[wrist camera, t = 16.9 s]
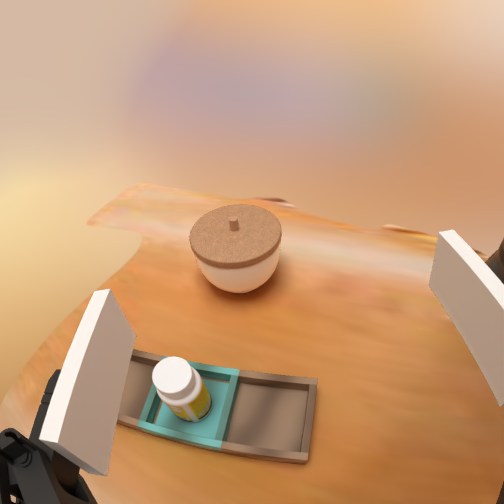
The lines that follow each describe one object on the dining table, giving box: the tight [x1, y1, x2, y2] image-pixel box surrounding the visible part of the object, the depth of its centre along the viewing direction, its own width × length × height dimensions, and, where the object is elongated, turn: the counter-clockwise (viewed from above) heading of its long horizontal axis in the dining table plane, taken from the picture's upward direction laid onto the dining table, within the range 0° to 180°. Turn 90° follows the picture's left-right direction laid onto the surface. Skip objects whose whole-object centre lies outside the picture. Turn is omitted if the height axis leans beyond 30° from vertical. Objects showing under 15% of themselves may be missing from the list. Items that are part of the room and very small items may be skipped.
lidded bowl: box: [190, 204, 282, 293], centre depth 46 cm, size 13×13×11 cm
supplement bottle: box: [152, 357, 212, 423], centre depth 30 cm, size 5×5×8 cm
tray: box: [117, 349, 317, 464], centre depth 33 cm, size 27×10×3 cm, turn 79°
